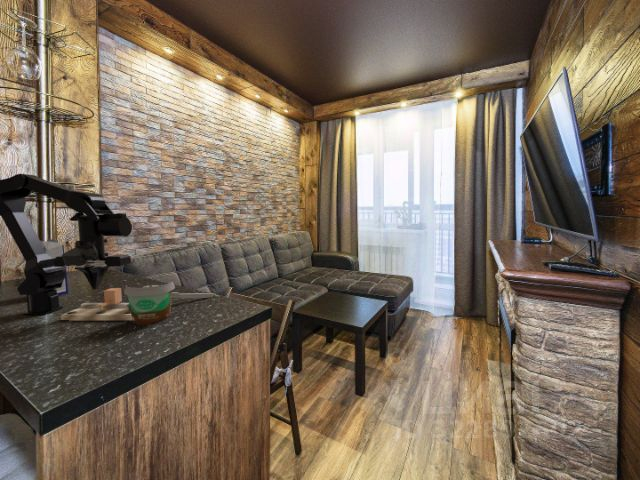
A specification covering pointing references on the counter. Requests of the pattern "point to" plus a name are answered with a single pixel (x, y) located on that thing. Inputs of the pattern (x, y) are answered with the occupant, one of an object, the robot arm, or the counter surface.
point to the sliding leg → (111, 297)
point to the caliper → (191, 295)
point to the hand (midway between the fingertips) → (95, 289)
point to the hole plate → (99, 312)
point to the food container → (150, 303)
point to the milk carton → (53, 251)
